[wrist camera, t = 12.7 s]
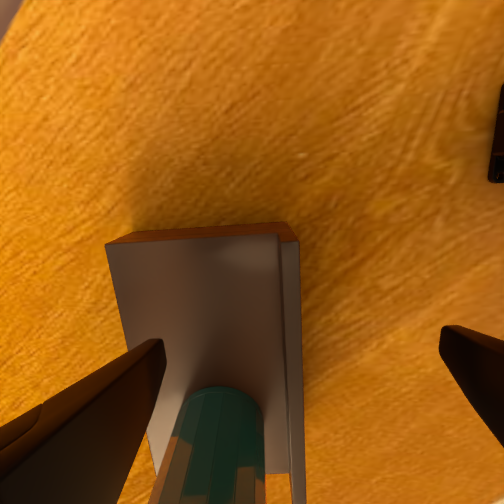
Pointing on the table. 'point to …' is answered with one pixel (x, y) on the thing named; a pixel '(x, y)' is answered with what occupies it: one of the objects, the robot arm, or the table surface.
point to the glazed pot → (214, 452)
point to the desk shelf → (220, 325)
